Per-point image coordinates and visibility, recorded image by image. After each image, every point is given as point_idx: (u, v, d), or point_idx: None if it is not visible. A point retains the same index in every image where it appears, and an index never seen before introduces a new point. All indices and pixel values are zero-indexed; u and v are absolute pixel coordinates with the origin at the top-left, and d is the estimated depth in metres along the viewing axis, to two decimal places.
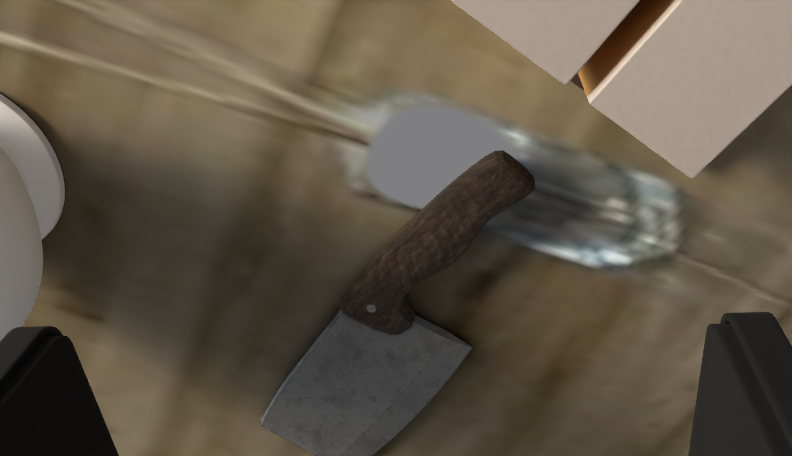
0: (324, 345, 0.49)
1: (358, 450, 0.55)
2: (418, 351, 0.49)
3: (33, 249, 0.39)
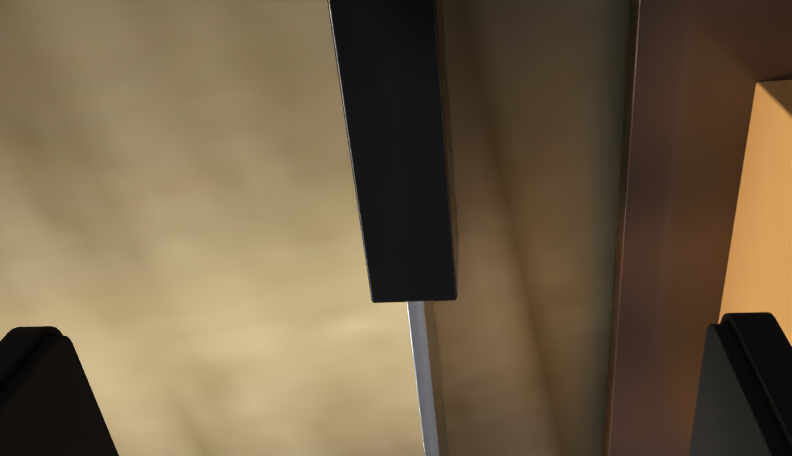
0: None
1: None
2: None
3: None
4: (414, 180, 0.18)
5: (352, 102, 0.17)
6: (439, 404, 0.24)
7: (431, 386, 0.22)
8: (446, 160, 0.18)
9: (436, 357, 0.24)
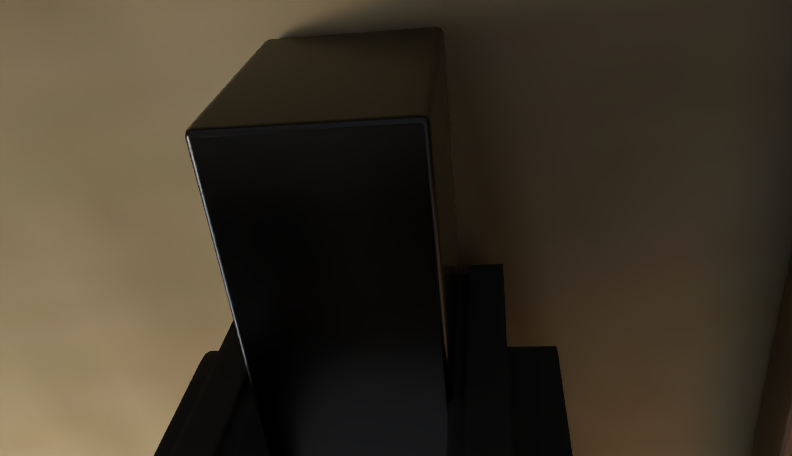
0: None
1: None
2: None
3: None
4: None
5: (281, 433, 0.09)
6: None
7: None
8: None
9: None
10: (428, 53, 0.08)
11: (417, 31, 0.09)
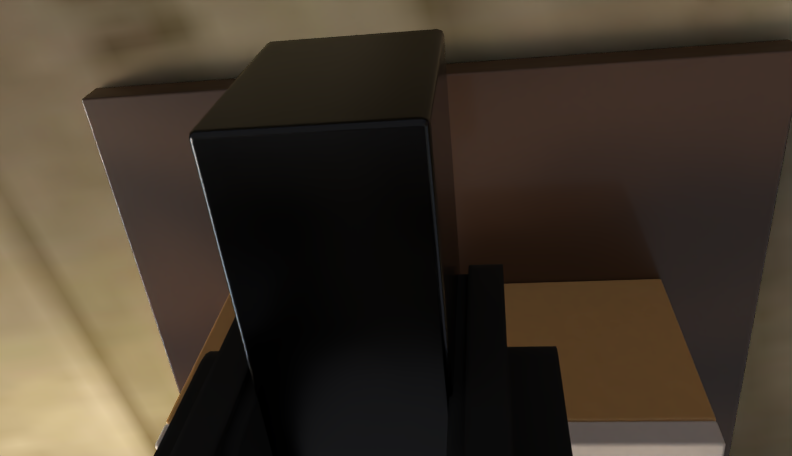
0: None
1: None
2: None
3: None
4: None
5: (283, 432, 0.09)
6: None
7: None
8: None
9: None
10: (428, 55, 0.08)
11: (417, 33, 0.09)
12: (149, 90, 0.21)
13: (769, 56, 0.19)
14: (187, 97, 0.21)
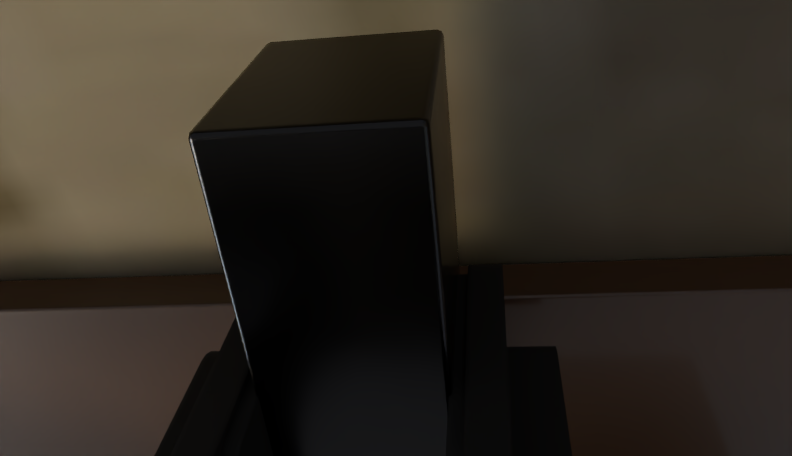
0: None
1: None
2: None
3: None
4: None
5: (283, 432, 0.09)
6: None
7: None
8: None
9: None
10: (427, 55, 0.08)
11: (417, 34, 0.09)
12: None
13: None
14: (20, 317, 0.13)
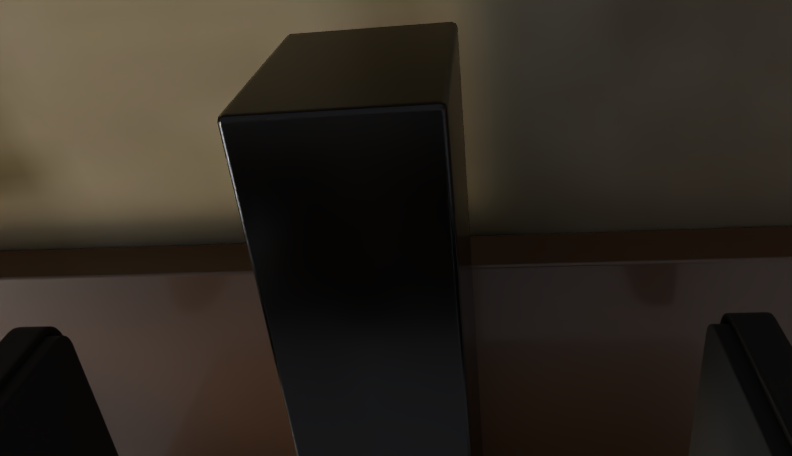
0: None
1: None
2: None
3: None
4: None
5: (302, 408, 0.09)
6: None
7: None
8: None
9: None
10: (443, 46, 0.09)
11: (432, 26, 0.10)
12: None
13: None
14: (30, 284, 0.13)
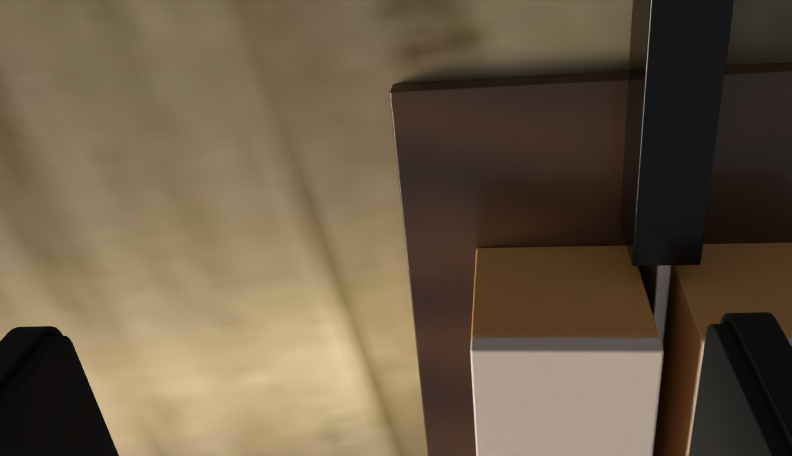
0: None
1: None
2: None
3: None
4: (686, 170, 0.24)
5: (650, 112, 0.23)
6: None
7: (663, 335, 0.28)
8: (713, 156, 0.24)
9: None
10: None
11: None
12: (441, 86, 0.28)
13: None
14: (475, 91, 0.27)
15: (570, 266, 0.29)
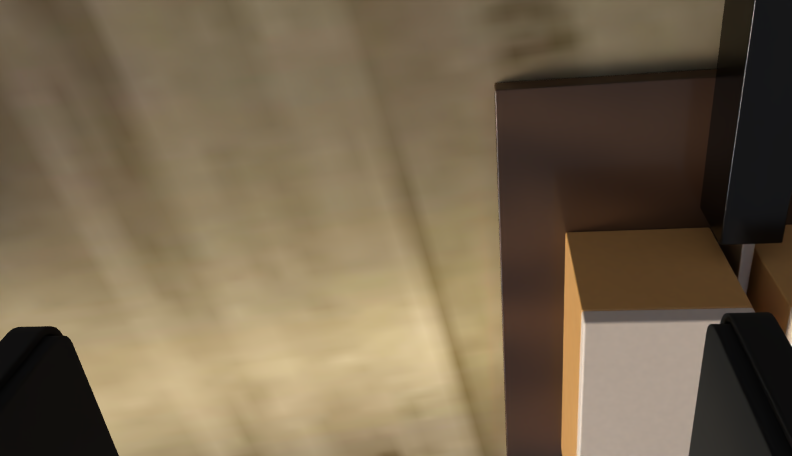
0: None
1: None
2: None
3: None
4: (775, 158, 0.27)
5: (746, 106, 0.26)
6: None
7: None
8: None
9: None
10: None
11: None
12: (542, 84, 0.30)
13: None
14: (574, 89, 0.30)
15: (657, 247, 0.31)
